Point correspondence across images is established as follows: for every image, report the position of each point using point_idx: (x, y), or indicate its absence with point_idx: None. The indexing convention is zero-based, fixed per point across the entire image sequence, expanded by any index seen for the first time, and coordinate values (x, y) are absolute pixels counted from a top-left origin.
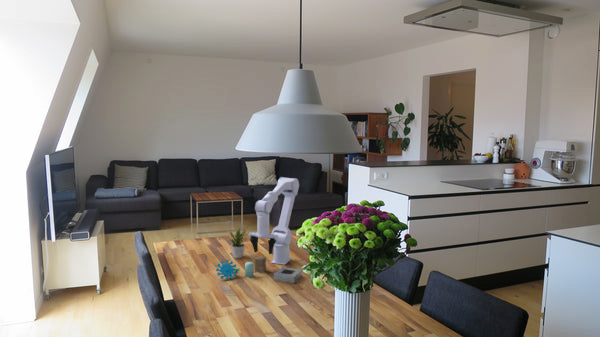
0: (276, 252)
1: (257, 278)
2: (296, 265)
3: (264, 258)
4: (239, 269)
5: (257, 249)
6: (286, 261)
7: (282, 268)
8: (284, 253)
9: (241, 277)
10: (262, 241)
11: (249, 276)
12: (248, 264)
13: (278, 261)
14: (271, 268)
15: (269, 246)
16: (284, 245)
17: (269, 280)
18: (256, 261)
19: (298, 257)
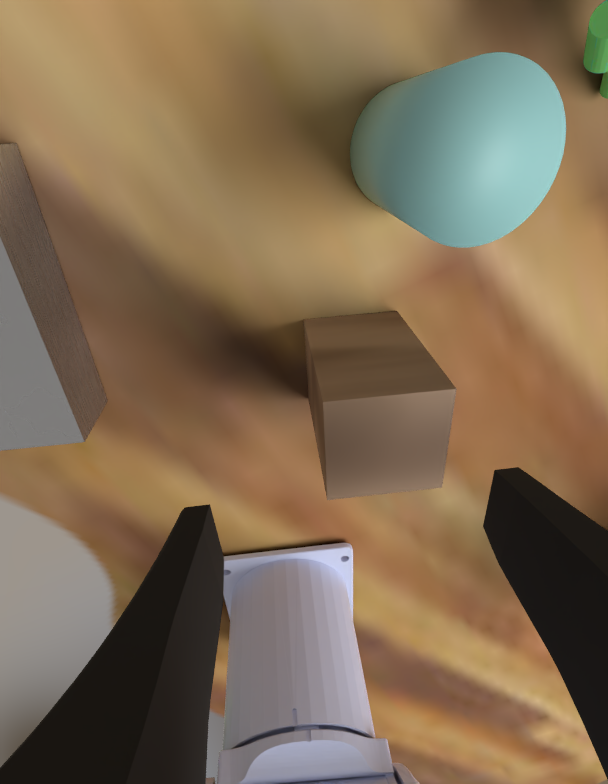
0: (308, 652)
1: (257, 100)
2: (127, 585)
3: (325, 460)
4: (597, 21)
5: (498, 554)
6: (231, 601)
7: (45, 407)
8: (233, 667)
9: (487, 21)
10: (546, 740)
11: (384, 90)
12: (479, 87)
13: (279, 571)
14: (279, 454)
15: (141, 670)
16: (219, 775)
17: (62, 106)
18: (415, 370)
19: (218, 680)
